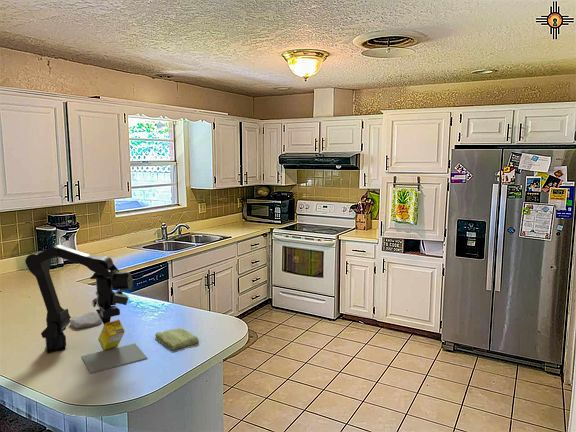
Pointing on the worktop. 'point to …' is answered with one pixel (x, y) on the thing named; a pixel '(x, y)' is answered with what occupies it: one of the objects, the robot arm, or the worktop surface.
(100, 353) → the grey mat
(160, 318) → the worktop surface
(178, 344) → the washcloth
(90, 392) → the worktop surface
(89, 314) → the stone block
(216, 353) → the worktop surface
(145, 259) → the worktop surface
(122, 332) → the supplement box
